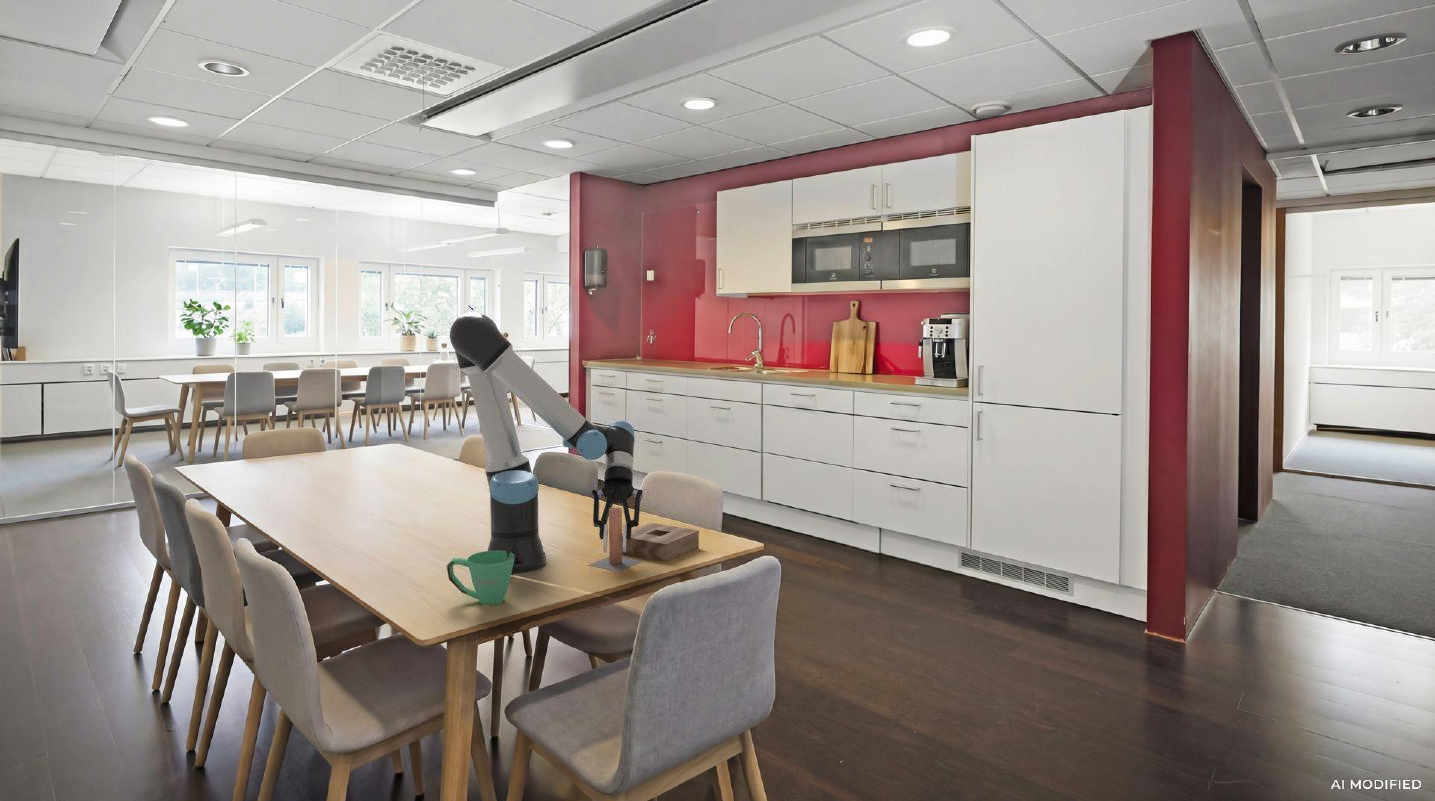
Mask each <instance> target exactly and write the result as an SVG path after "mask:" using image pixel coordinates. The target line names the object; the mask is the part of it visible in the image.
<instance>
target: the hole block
mask: <svg viewBox="0 0 1435 801" xmlns="http://www.w3.org/2000/svg"><path fill="white" fill-rule="evenodd" d="M699 532H700V531H699V530H698V529H692V528H687V527H686V528H685V527H680V526H674V525H673V526H672V525H668V524H662V523H655V522H649V523H647V524H644V525H641V526H637V527H635V528H632V529H631V539H627V541H626V552H623V547H622V554H624V555H625V554H626V555H630V556H636V557H640V558H641V557H642V558H645V559H651V560H655V561H662V562H667V561H670V560H672V559H674V558H677V557H678V556H681V555H683V554H686V553H687V552H690V551H696V550H697V549H699V546H700V542H699V541H700V539H699V538H700V533H699ZM622 546H623V532H622Z"/></svg>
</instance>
